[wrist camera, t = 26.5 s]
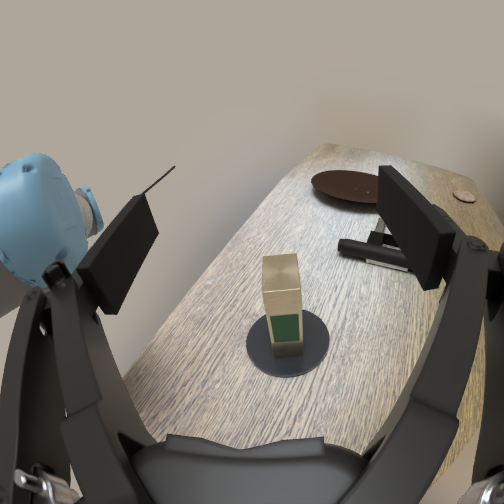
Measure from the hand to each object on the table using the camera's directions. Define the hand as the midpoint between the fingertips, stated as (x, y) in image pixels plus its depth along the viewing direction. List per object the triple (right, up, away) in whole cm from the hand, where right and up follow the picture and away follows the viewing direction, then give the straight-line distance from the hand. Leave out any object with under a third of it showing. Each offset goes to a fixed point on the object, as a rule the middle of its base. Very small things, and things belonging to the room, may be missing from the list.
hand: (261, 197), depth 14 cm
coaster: (+5, -16, +24) cm, 29 cm away
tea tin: (+5, -15, +23) cm, 28 cm away
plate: (+30, +14, +58) cm, 67 cm away
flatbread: (+63, +13, +48) cm, 80 cm away
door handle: (+28, -2, +36) cm, 46 cm away
